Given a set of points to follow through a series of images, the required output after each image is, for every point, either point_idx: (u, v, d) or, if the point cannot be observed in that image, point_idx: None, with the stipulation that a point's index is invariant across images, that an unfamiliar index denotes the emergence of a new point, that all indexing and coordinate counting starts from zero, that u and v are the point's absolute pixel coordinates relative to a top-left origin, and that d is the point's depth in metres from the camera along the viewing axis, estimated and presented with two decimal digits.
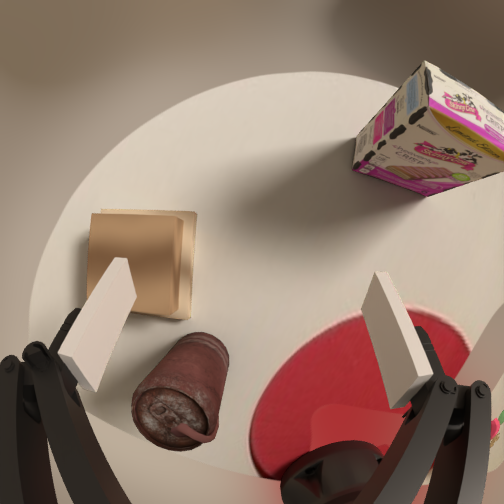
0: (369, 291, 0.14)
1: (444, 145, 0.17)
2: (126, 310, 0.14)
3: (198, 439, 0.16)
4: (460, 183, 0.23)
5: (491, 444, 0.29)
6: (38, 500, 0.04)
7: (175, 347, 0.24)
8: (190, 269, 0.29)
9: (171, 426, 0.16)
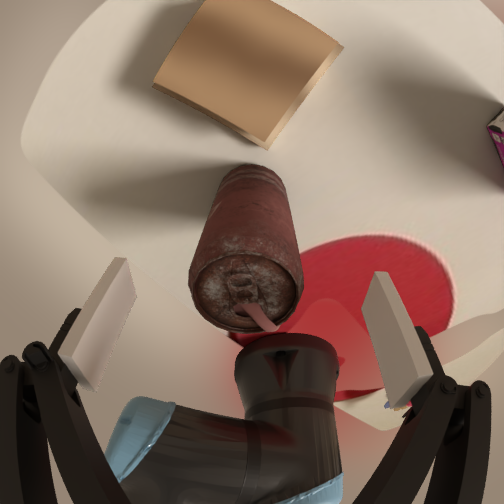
0: (369, 291, 0.14)
1: None
2: (126, 310, 0.14)
3: (265, 327, 0.15)
4: None
5: (398, 408, 0.51)
6: (38, 500, 0.04)
7: (249, 181, 0.20)
8: None
9: (239, 302, 0.15)
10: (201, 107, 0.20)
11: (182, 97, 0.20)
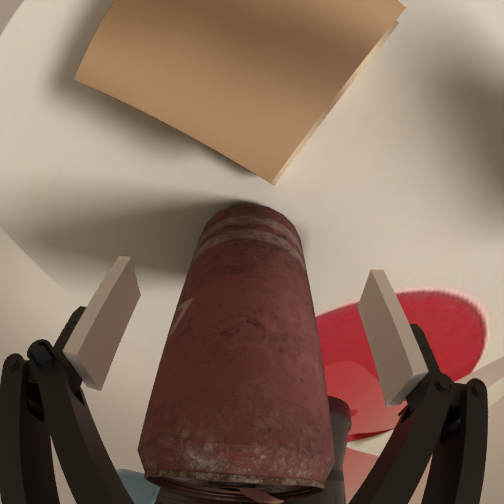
0: (365, 289, 0.15)
1: None
2: (130, 308, 0.14)
3: None
4: None
5: None
6: (40, 499, 0.04)
7: (244, 250, 0.12)
8: None
9: (226, 487, 0.07)
10: None
11: None
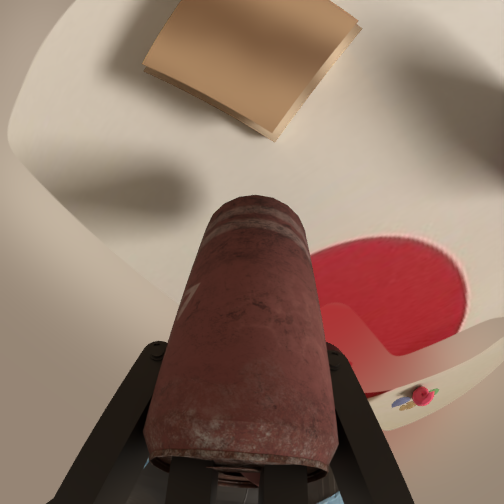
0: None
1: None
2: None
3: None
4: None
5: (404, 408, 0.48)
6: (112, 495, 0.05)
7: (250, 238, 0.12)
8: (315, 85, 0.17)
9: (230, 471, 0.07)
10: (199, 93, 0.17)
11: (177, 82, 0.17)
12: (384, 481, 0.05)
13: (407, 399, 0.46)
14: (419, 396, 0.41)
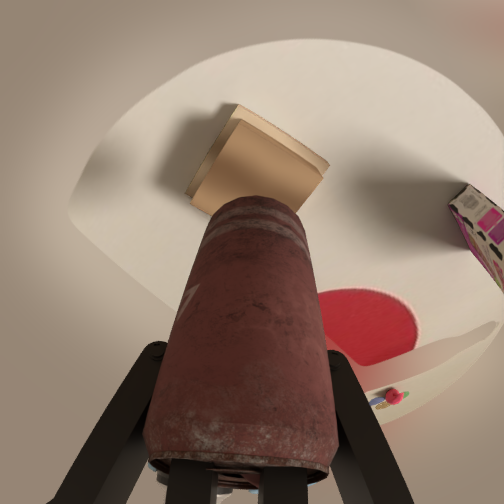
0: None
1: None
2: None
3: None
4: (494, 279, 0.28)
5: (380, 407, 0.61)
6: (112, 495, 0.05)
7: (250, 238, 0.12)
8: None
9: (230, 473, 0.07)
10: None
11: None
12: (384, 481, 0.05)
13: (381, 399, 0.58)
14: (391, 396, 0.54)
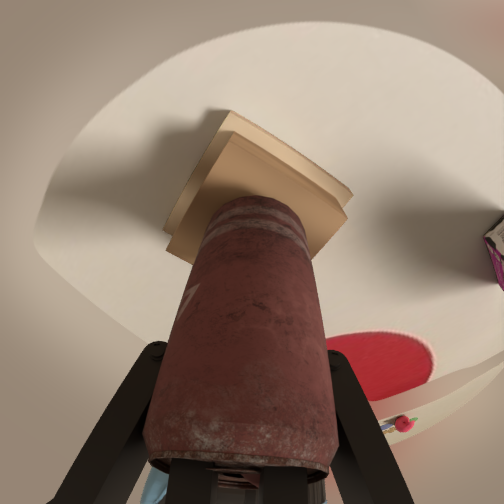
0: None
1: None
2: None
3: None
4: None
5: (386, 432, 0.54)
6: (112, 495, 0.05)
7: (250, 238, 0.12)
8: None
9: (230, 472, 0.07)
10: None
11: None
12: (384, 481, 0.05)
13: (390, 425, 0.51)
14: (401, 424, 0.47)
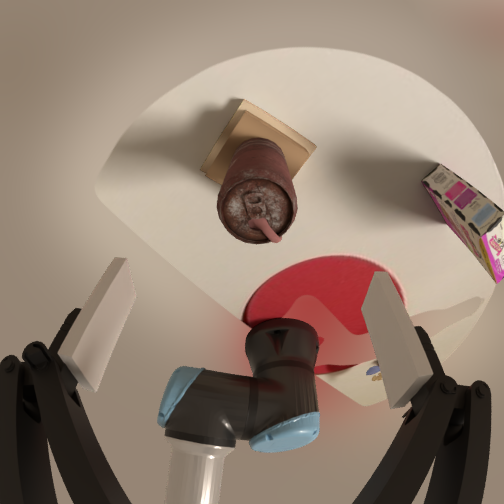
0: (369, 291, 0.14)
1: (473, 241, 0.28)
2: (126, 310, 0.14)
3: (270, 237, 0.22)
4: (467, 246, 0.35)
5: (375, 378, 0.67)
6: (38, 500, 0.04)
7: (258, 146, 0.26)
8: None
9: (252, 217, 0.21)
10: None
11: None
12: (469, 502, 0.04)
13: (379, 368, 0.64)
14: None
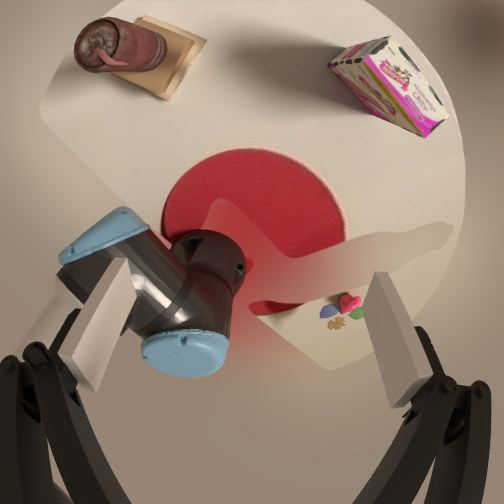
0: (369, 291, 0.14)
1: (374, 87, 0.25)
2: (126, 310, 0.14)
3: (104, 59, 0.19)
4: (390, 121, 0.32)
5: (332, 325, 0.63)
6: (38, 500, 0.04)
7: None
8: (184, 71, 0.35)
9: (94, 49, 0.18)
10: (134, 82, 0.35)
11: (125, 78, 0.34)
12: (469, 502, 0.04)
13: (335, 309, 0.60)
14: (346, 299, 0.56)
